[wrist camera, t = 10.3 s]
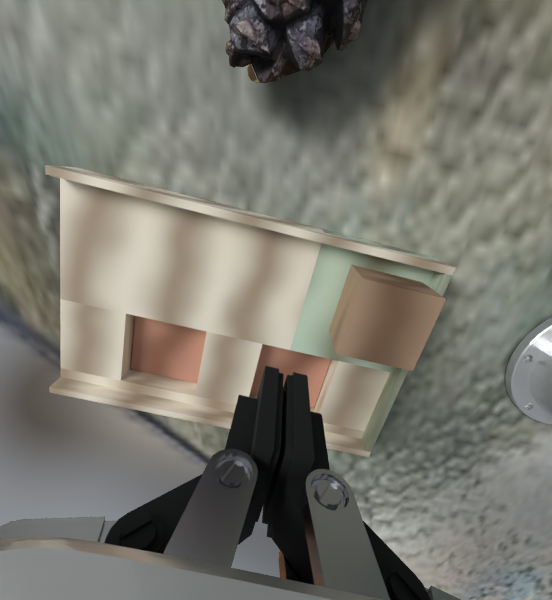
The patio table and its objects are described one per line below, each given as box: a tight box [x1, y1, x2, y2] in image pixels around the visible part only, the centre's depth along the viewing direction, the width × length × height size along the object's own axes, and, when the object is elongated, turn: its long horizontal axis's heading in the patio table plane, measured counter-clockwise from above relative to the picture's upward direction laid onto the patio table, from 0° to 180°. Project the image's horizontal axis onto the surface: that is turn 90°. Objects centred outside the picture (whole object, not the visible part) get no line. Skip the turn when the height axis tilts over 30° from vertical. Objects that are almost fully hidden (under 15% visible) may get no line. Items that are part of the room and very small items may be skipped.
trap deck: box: [45, 165, 456, 457], centre depth 27 cm, size 30×19×4 cm, turn 76°
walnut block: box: [329, 265, 446, 371], centre depth 24 cm, size 6×6×4 cm
